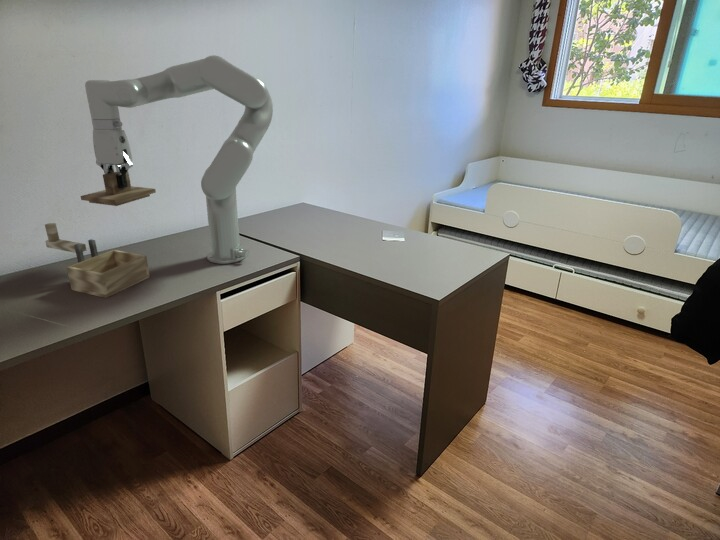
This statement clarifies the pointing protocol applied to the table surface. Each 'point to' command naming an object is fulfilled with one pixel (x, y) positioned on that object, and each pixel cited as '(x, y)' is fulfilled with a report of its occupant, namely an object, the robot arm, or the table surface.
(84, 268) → the light wooden box
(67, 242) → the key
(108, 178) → the lid
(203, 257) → the table surface
